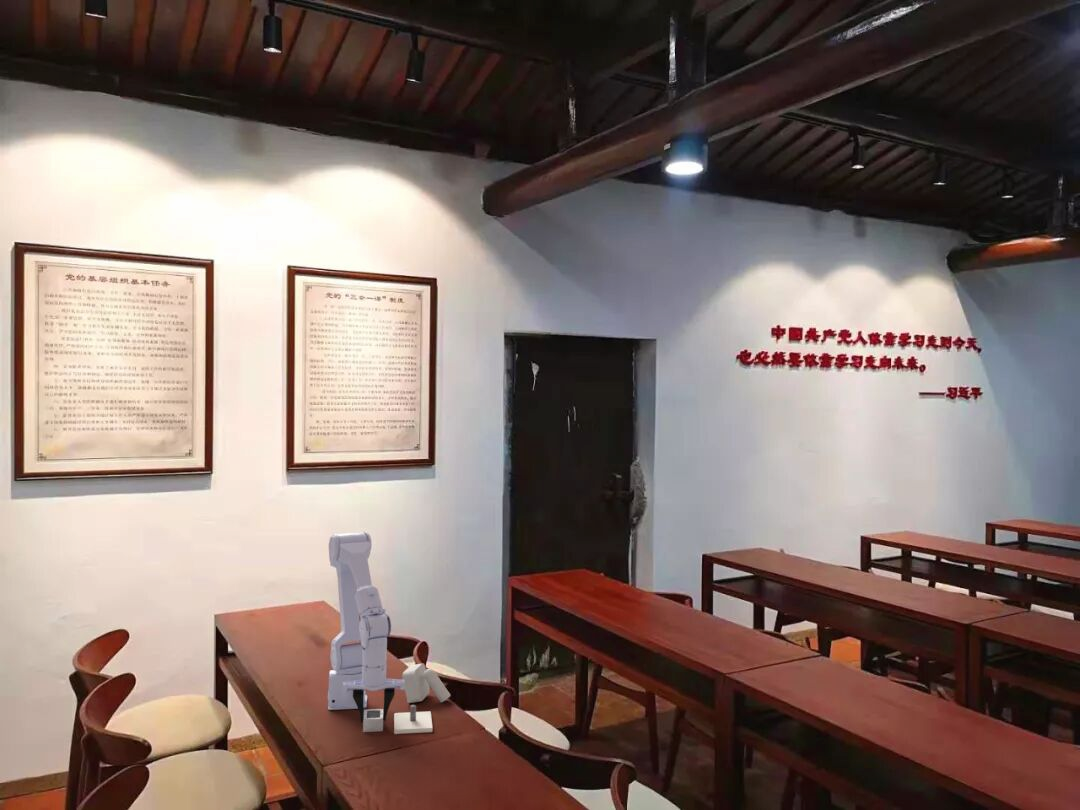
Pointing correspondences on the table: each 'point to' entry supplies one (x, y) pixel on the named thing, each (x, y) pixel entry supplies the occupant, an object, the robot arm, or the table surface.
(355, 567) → the robot arm
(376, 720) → the hollow square tube
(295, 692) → the table surface
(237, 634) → the table surface
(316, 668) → the table surface
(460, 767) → the table surface
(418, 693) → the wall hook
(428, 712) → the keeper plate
